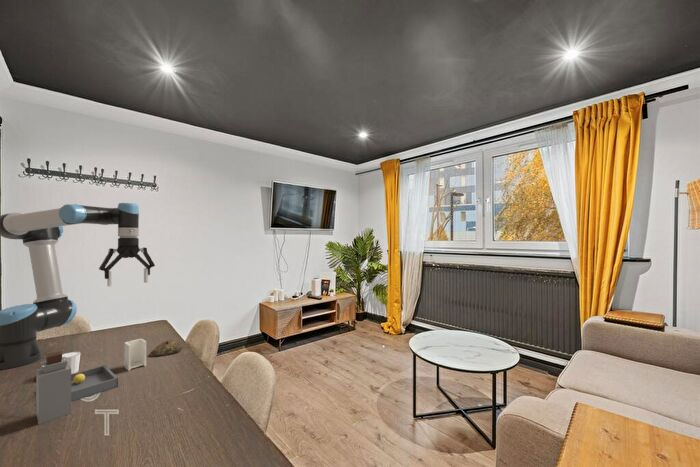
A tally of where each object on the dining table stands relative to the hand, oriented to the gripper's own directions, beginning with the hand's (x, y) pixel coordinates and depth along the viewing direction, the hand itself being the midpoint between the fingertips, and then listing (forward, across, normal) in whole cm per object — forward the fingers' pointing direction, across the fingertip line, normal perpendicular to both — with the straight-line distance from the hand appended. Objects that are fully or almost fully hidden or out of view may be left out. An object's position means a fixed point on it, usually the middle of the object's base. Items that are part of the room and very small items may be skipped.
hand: (128, 284), depth 134 cm
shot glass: (+32, -20, -3) cm, 38 cm away
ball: (+29, -20, -19) cm, 40 cm away
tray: (+32, -19, -23) cm, 44 cm away
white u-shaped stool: (+32, -2, -17) cm, 36 cm away
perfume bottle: (+32, -28, -37) cm, 56 cm away
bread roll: (+32, +13, -9) cm, 36 cm away
